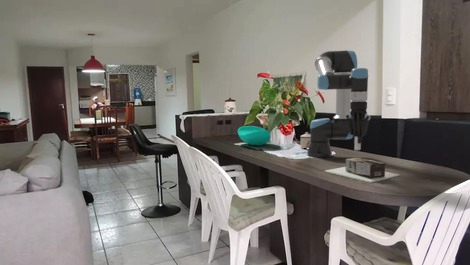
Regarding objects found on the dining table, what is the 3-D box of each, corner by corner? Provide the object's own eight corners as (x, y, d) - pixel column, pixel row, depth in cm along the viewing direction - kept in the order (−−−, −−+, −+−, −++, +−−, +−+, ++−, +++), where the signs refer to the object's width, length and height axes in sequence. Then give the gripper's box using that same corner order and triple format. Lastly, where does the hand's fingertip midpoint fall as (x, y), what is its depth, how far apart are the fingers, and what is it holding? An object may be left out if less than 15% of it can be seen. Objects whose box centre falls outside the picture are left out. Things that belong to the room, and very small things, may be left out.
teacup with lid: (307, 150, 231) (307, 133, 230) (297, 148, 238) (297, 132, 237) (318, 148, 238) (318, 132, 237) (308, 146, 245) (308, 131, 244)
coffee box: (345, 171, 162) (369, 179, 147) (345, 158, 161) (370, 164, 146) (359, 169, 165) (385, 177, 150) (360, 157, 164) (385, 163, 149)
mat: (324, 171, 164) (324, 170, 164) (352, 166, 176) (352, 165, 176) (370, 182, 143) (370, 181, 143) (399, 175, 154) (399, 174, 154)
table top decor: (231, 143, 270) (230, 126, 268) (261, 140, 280) (261, 125, 279) (251, 150, 233) (251, 131, 232) (285, 147, 244) (285, 129, 242)
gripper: (342, 101, 161) (341, 148, 163) (365, 101, 150) (364, 152, 153) (352, 100, 165) (351, 147, 167) (375, 101, 154) (374, 150, 157)
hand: (357, 149), depth 160 cm, fingers closed
